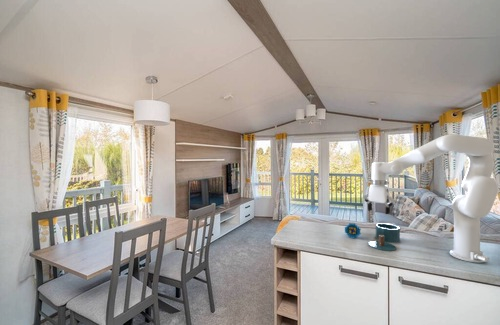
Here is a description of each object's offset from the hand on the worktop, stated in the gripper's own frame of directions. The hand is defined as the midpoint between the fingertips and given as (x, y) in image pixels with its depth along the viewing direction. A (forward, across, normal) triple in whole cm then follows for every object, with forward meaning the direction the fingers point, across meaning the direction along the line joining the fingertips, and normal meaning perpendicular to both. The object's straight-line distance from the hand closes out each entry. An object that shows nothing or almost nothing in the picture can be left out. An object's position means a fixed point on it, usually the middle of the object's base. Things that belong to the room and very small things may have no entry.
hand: (378, 212), depth 128 cm
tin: (+19, 0, -13) cm, 23 cm away
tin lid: (+19, -3, +2) cm, 19 cm away
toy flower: (+20, +18, -3) cm, 27 cm away
